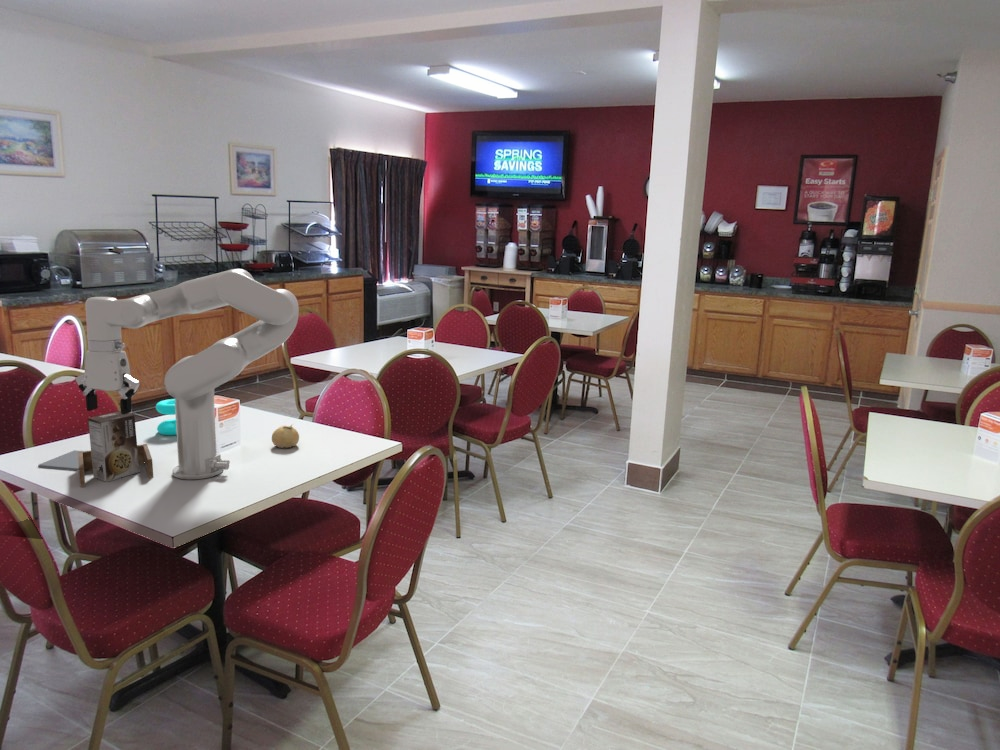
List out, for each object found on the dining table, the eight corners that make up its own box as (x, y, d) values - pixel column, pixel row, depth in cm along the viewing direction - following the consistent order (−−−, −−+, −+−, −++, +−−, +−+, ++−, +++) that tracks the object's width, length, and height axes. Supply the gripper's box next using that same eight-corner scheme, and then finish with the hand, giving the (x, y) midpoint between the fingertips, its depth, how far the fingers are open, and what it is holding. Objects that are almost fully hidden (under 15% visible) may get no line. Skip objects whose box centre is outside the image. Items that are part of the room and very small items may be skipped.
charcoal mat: (115, 455, 197) (115, 453, 197) (81, 470, 185) (81, 468, 185) (74, 452, 199) (74, 450, 199) (38, 466, 187) (38, 464, 186)
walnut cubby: (148, 461, 194) (146, 444, 193) (153, 477, 182) (152, 459, 181) (79, 469, 186) (78, 451, 184) (80, 487, 174) (78, 468, 172)
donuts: (149, 404, 215) (165, 397, 225) (151, 435, 217) (167, 427, 227) (180, 406, 215) (195, 398, 225) (182, 437, 217) (197, 428, 227)
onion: (270, 451, 207) (270, 428, 205) (273, 443, 214) (272, 420, 213) (298, 450, 208) (298, 427, 207) (300, 442, 216) (299, 420, 215)
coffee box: (126, 467, 188) (121, 410, 185) (140, 472, 185) (135, 414, 182) (92, 477, 180) (86, 417, 177) (106, 482, 177) (101, 421, 174)
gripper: (146, 346, 178) (149, 410, 182) (85, 341, 181) (89, 405, 184) (126, 350, 171) (130, 418, 174) (63, 345, 173) (68, 412, 177)
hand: (109, 411), depth 179 cm, fingers open, 9 cm apart
